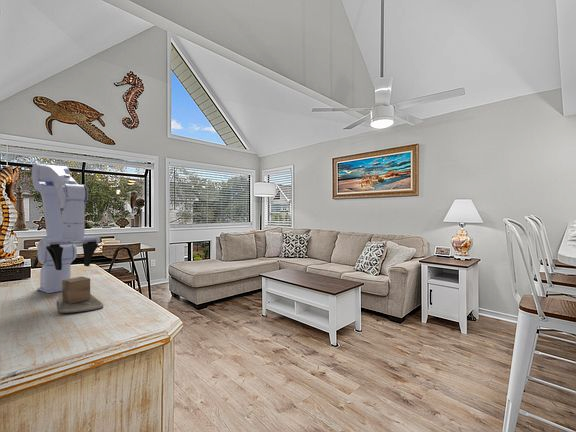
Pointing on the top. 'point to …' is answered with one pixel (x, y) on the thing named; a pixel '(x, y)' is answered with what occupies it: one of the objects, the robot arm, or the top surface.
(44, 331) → the top surface
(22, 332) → the top surface
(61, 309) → the stone
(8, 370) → the top surface
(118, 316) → the top surface
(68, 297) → the walnut block
